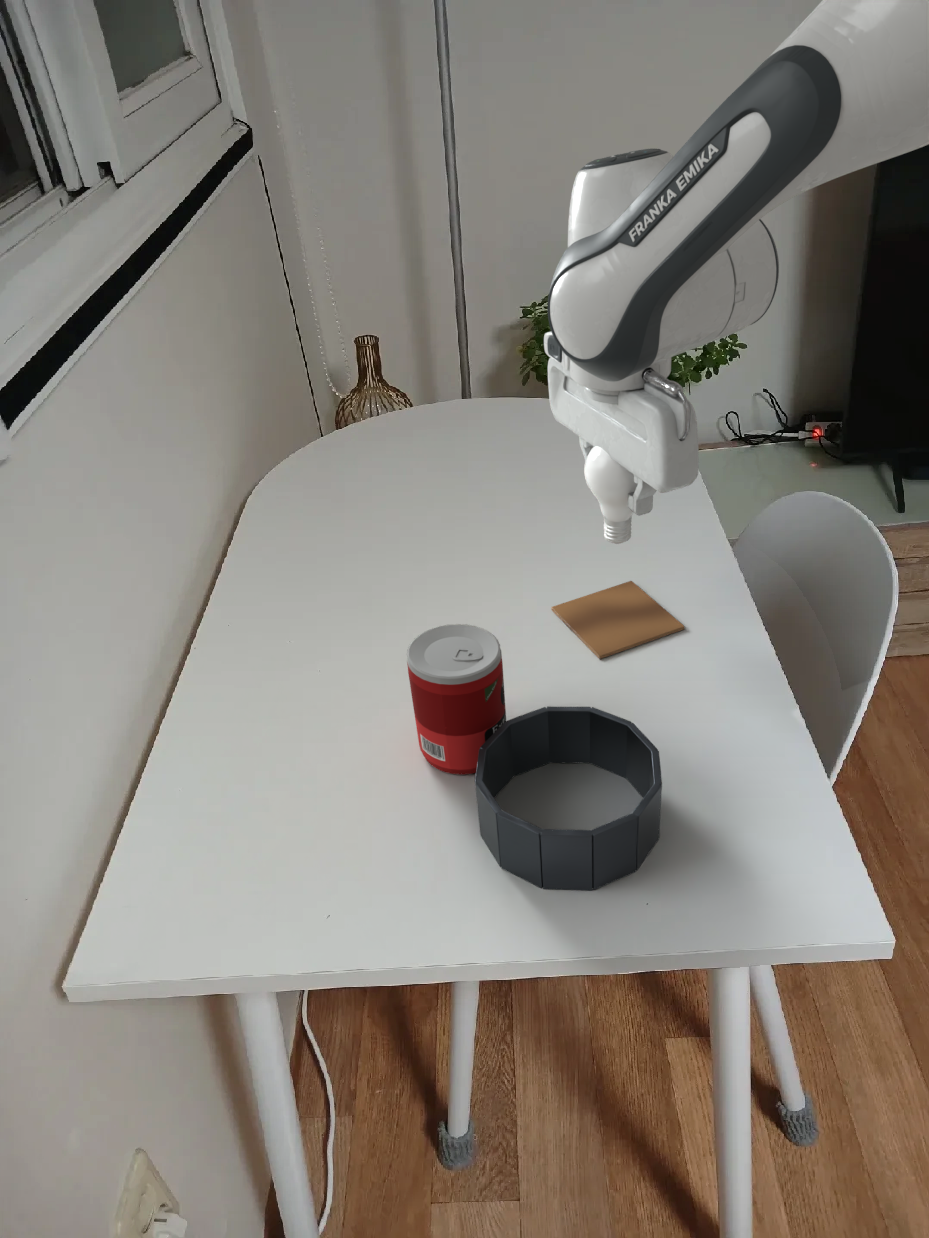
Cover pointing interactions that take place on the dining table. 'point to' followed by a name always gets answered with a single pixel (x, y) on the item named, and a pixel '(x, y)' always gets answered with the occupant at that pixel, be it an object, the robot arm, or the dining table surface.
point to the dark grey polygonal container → (562, 851)
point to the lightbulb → (611, 493)
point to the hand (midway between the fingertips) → (618, 494)
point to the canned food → (456, 694)
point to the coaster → (616, 619)
